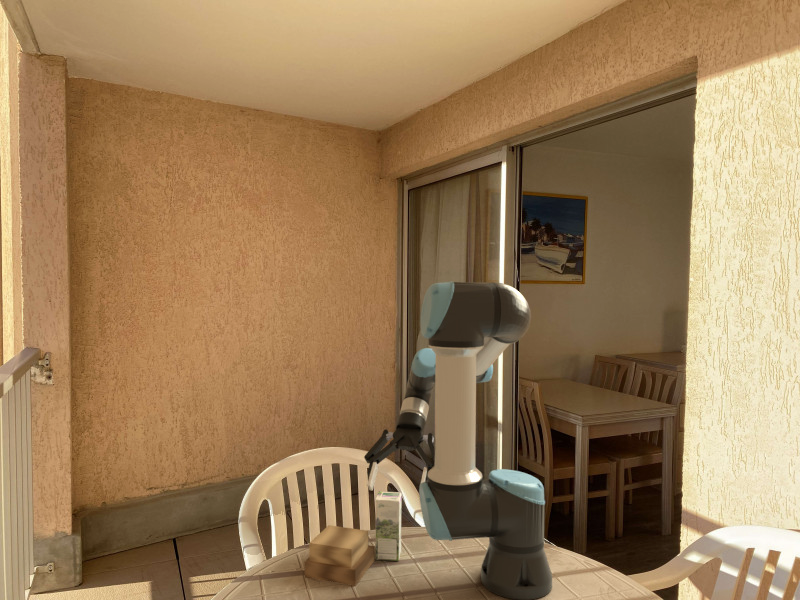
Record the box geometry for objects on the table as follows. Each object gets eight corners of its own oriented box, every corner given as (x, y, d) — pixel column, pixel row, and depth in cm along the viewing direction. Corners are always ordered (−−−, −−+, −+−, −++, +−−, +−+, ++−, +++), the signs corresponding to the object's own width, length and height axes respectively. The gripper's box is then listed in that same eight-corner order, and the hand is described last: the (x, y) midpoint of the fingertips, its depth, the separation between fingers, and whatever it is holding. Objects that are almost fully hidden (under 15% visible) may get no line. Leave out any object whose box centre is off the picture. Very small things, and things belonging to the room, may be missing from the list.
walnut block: (374, 563, 132) (374, 546, 132) (355, 588, 121) (355, 569, 121) (327, 555, 136) (327, 539, 136) (304, 579, 124) (304, 561, 124)
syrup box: (401, 550, 137) (401, 491, 137) (399, 562, 131) (399, 499, 131) (378, 549, 138) (378, 490, 138) (374, 560, 132) (375, 498, 132)
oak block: (368, 548, 131) (368, 530, 131) (351, 567, 122) (351, 549, 122) (328, 542, 134) (328, 525, 134) (309, 560, 125) (309, 542, 125)
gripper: (459, 429, 154) (446, 503, 140) (373, 422, 162) (353, 492, 148) (455, 413, 149) (441, 489, 135) (366, 407, 156) (344, 478, 142)
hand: (395, 491), depth 141 cm, fingers open, 13 cm apart
